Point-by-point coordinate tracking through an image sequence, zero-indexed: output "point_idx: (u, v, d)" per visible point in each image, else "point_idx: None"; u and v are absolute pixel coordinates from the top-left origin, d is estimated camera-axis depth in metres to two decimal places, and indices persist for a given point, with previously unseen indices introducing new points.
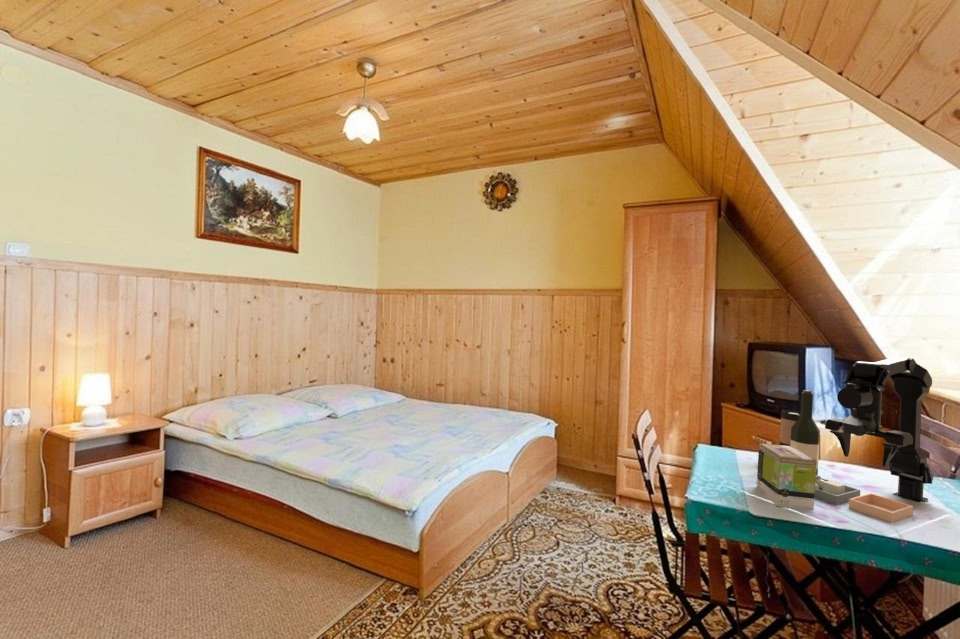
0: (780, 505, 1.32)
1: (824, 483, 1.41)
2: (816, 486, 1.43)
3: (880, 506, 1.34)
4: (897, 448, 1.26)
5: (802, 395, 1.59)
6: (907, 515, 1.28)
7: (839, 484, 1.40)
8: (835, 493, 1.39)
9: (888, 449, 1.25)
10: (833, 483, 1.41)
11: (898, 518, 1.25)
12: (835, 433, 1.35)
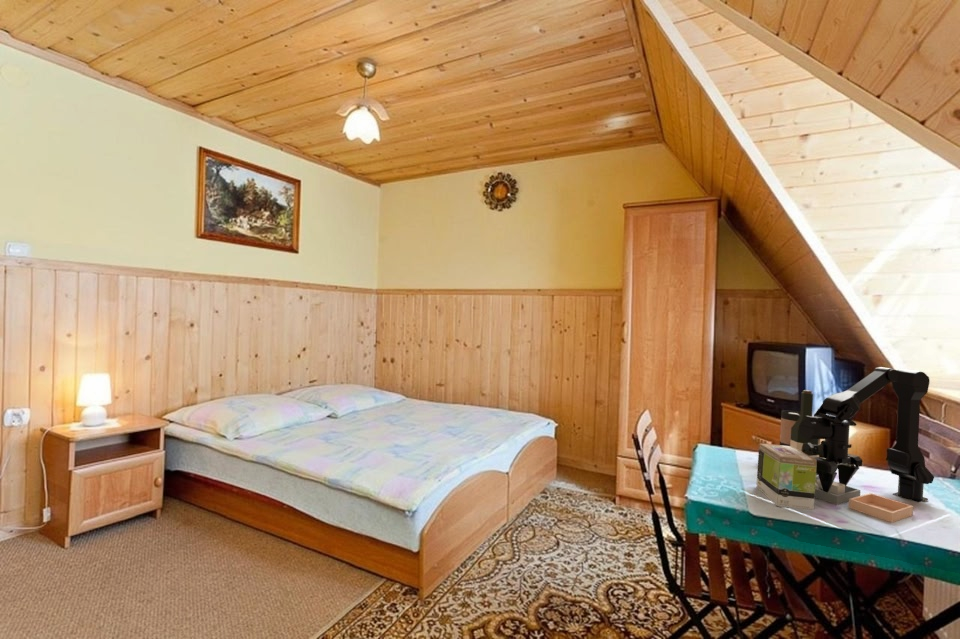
0: (780, 505, 1.32)
1: None
2: (816, 486, 1.43)
3: (880, 506, 1.34)
4: (830, 477, 1.36)
5: (802, 395, 1.59)
6: (907, 515, 1.28)
7: (839, 484, 1.40)
8: (835, 493, 1.39)
9: None
10: (833, 483, 1.41)
11: (898, 518, 1.25)
12: None
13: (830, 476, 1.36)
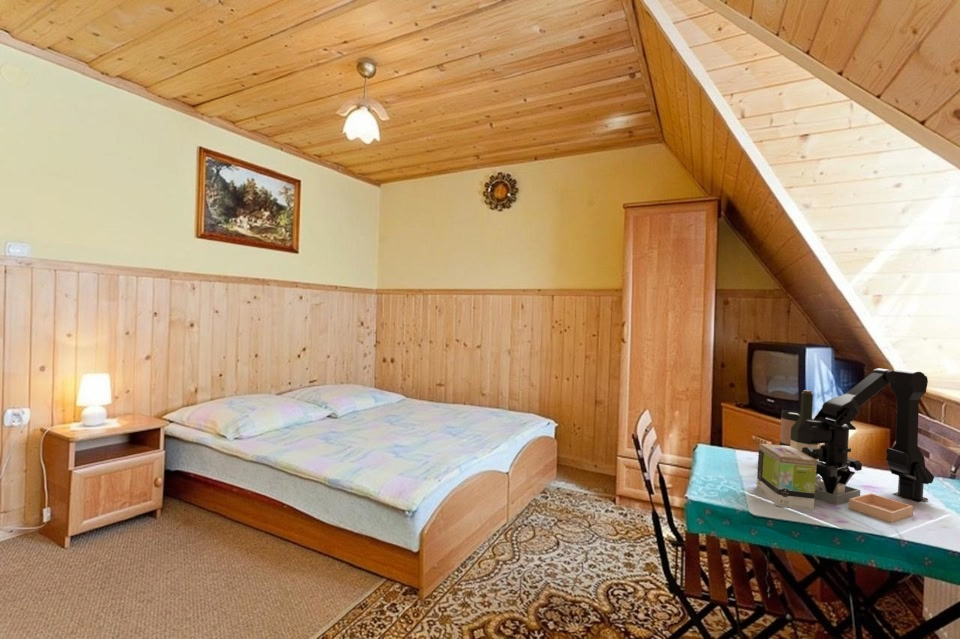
0: (780, 505, 1.32)
1: None
2: (816, 486, 1.43)
3: (880, 506, 1.34)
4: (834, 480, 1.37)
5: (802, 395, 1.59)
6: (907, 515, 1.28)
7: (839, 484, 1.40)
8: (835, 493, 1.39)
9: None
10: None
11: (898, 518, 1.25)
12: None
13: (834, 479, 1.37)
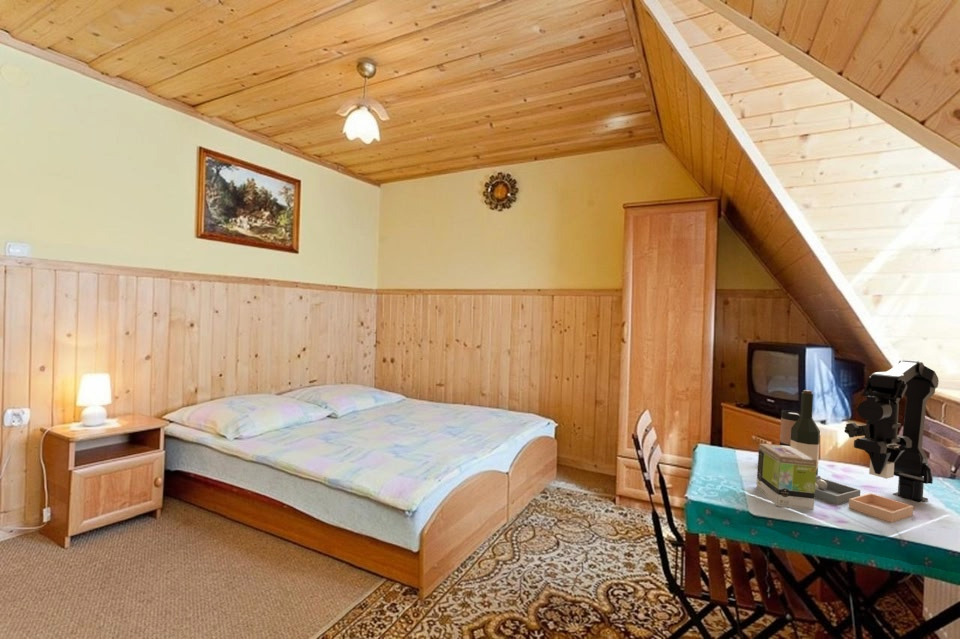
0: (780, 505, 1.32)
1: None
2: (816, 486, 1.43)
3: (880, 506, 1.34)
4: (883, 457, 1.27)
5: (802, 395, 1.59)
6: (907, 515, 1.28)
7: (888, 462, 1.30)
8: (884, 471, 1.29)
9: None
10: None
11: (898, 518, 1.25)
12: None
13: (883, 456, 1.27)
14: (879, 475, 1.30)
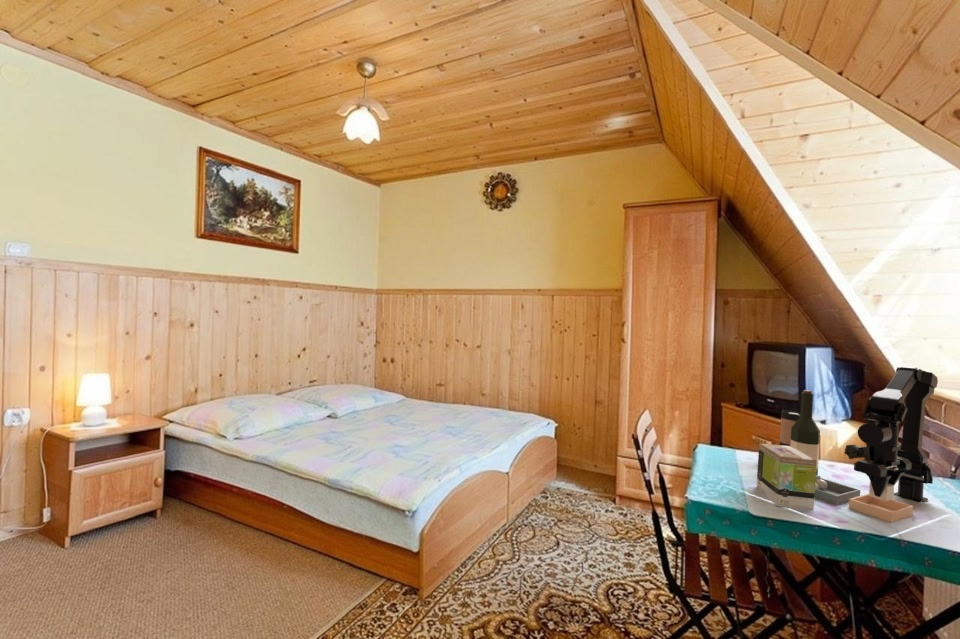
0: (780, 505, 1.32)
1: None
2: (816, 486, 1.43)
3: (880, 506, 1.34)
4: (883, 480, 1.27)
5: (802, 395, 1.59)
6: (907, 515, 1.28)
7: (888, 484, 1.30)
8: (884, 494, 1.29)
9: None
10: None
11: (898, 518, 1.25)
12: None
13: (883, 479, 1.27)
14: (879, 497, 1.30)
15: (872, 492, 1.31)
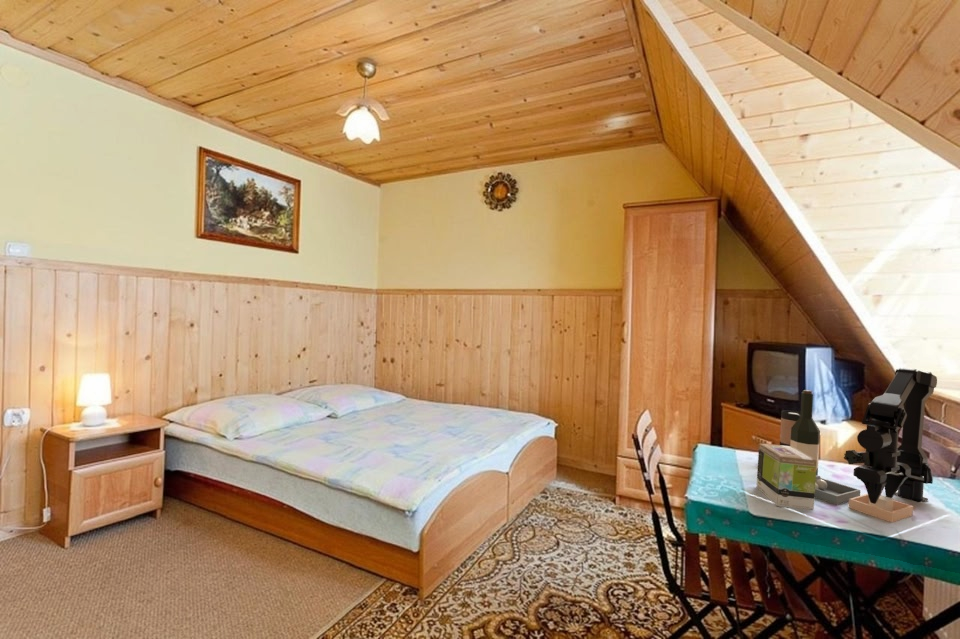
0: (780, 505, 1.32)
1: None
2: (816, 486, 1.43)
3: None
4: (878, 487, 1.26)
5: (802, 395, 1.59)
6: (907, 515, 1.28)
7: (887, 498, 1.30)
8: (883, 508, 1.29)
9: None
10: (880, 497, 1.31)
11: (898, 518, 1.25)
12: None
13: (879, 486, 1.26)
14: None
15: None
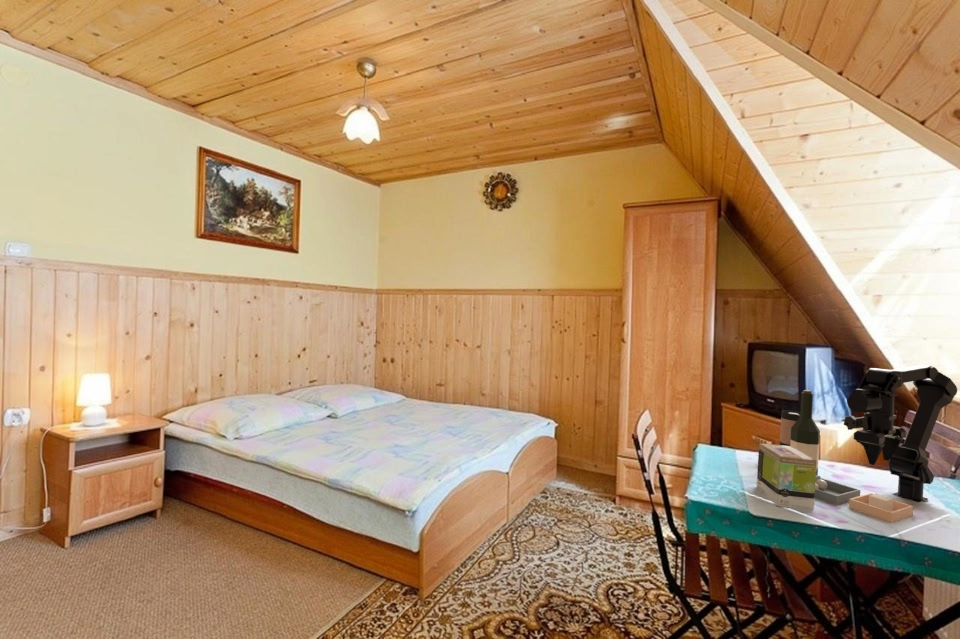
0: (780, 505, 1.32)
1: (870, 497, 1.31)
2: (816, 486, 1.43)
3: None
4: (877, 449, 1.34)
5: (802, 395, 1.59)
6: (907, 515, 1.28)
7: (887, 498, 1.30)
8: (883, 508, 1.29)
9: None
10: (880, 497, 1.31)
11: (898, 518, 1.25)
12: None
13: (877, 448, 1.34)
14: None
15: None
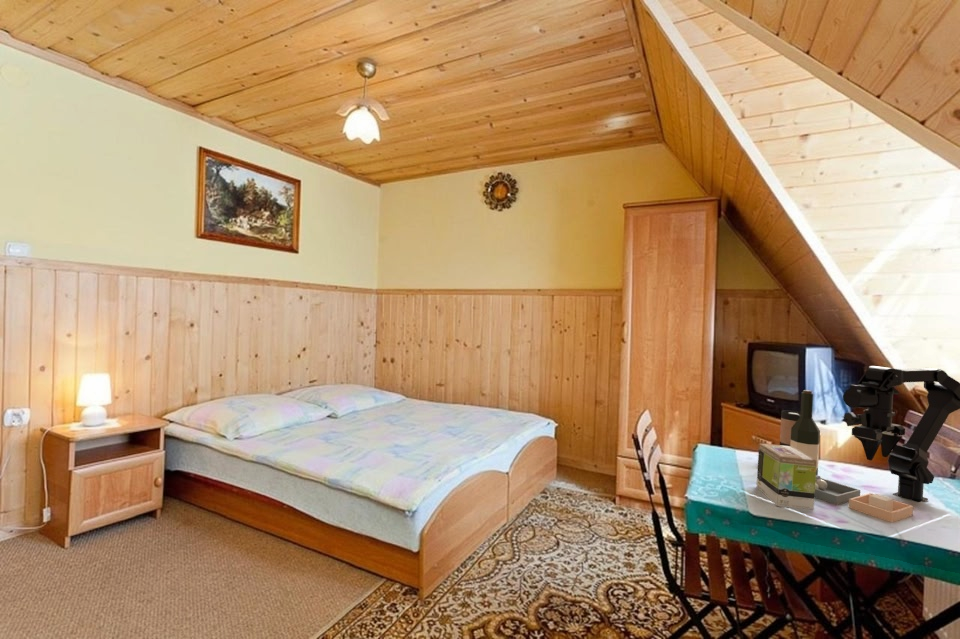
0: (780, 505, 1.32)
1: (870, 497, 1.31)
2: (816, 486, 1.43)
3: None
4: (874, 444, 1.37)
5: (802, 395, 1.59)
6: (907, 515, 1.28)
7: (887, 498, 1.30)
8: (883, 508, 1.29)
9: None
10: (880, 497, 1.31)
11: (898, 518, 1.25)
12: None
13: (875, 443, 1.37)
14: None
15: None
